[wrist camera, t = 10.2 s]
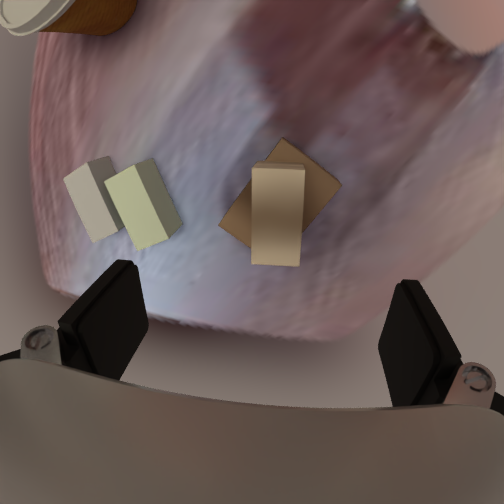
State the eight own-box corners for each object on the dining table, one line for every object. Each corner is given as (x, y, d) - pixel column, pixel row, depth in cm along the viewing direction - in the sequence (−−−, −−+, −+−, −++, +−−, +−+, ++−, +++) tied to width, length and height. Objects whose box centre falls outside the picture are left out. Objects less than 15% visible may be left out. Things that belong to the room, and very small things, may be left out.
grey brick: (86, 170, 28) (63, 178, 25) (109, 155, 27) (86, 162, 24) (112, 228, 31) (92, 243, 27) (137, 217, 30) (118, 231, 26)
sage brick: (125, 173, 28) (104, 181, 24) (153, 158, 27) (134, 164, 23) (154, 235, 30) (137, 251, 27) (183, 223, 29) (168, 238, 26)
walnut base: (282, 136, 25) (282, 138, 23) (336, 178, 26) (342, 185, 24) (224, 214, 29) (218, 225, 26) (276, 251, 30) (274, 265, 27)
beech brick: (257, 160, 24) (251, 168, 20) (302, 162, 23) (304, 170, 20) (256, 243, 26) (251, 264, 23) (298, 245, 26) (299, 266, 22)
